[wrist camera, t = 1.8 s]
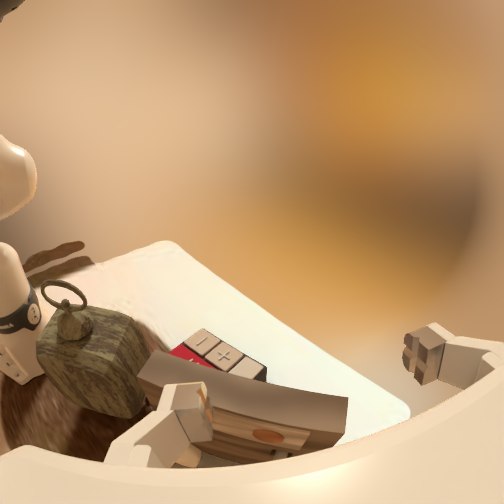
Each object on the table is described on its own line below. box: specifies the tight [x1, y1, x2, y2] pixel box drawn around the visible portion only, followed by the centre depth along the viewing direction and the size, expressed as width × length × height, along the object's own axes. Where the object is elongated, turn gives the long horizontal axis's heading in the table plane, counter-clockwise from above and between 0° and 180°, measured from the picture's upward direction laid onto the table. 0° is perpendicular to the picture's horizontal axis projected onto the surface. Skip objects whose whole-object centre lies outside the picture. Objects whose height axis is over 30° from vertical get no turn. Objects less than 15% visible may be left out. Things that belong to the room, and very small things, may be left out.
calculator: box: [168, 329, 267, 382], centre depth 43 cm, size 11×4×15 cm
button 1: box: [176, 444, 203, 468], centre depth 26 cm, size 7×5×5 cm
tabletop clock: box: [36, 280, 151, 419], centre depth 30 cm, size 14×9×25 cm, turn 89°
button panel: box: [137, 349, 348, 465], centre depth 28 cm, size 4×20×18 cm, turn 74°
